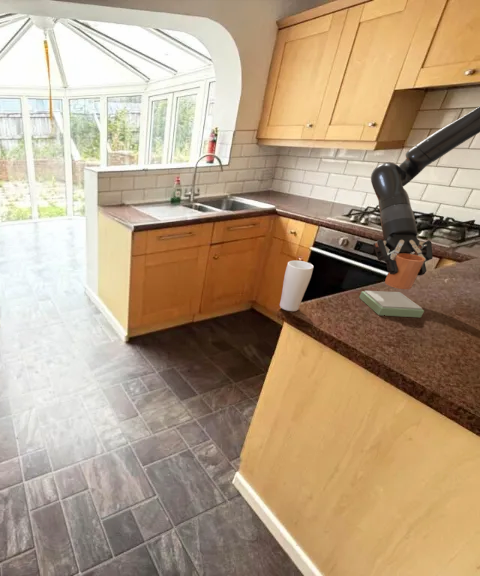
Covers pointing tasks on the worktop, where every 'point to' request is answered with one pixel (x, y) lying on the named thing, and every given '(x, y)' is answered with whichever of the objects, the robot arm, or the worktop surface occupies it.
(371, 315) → the worktop surface
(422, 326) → the worktop surface
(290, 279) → the drinking glass
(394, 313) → the scale
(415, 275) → the cup
